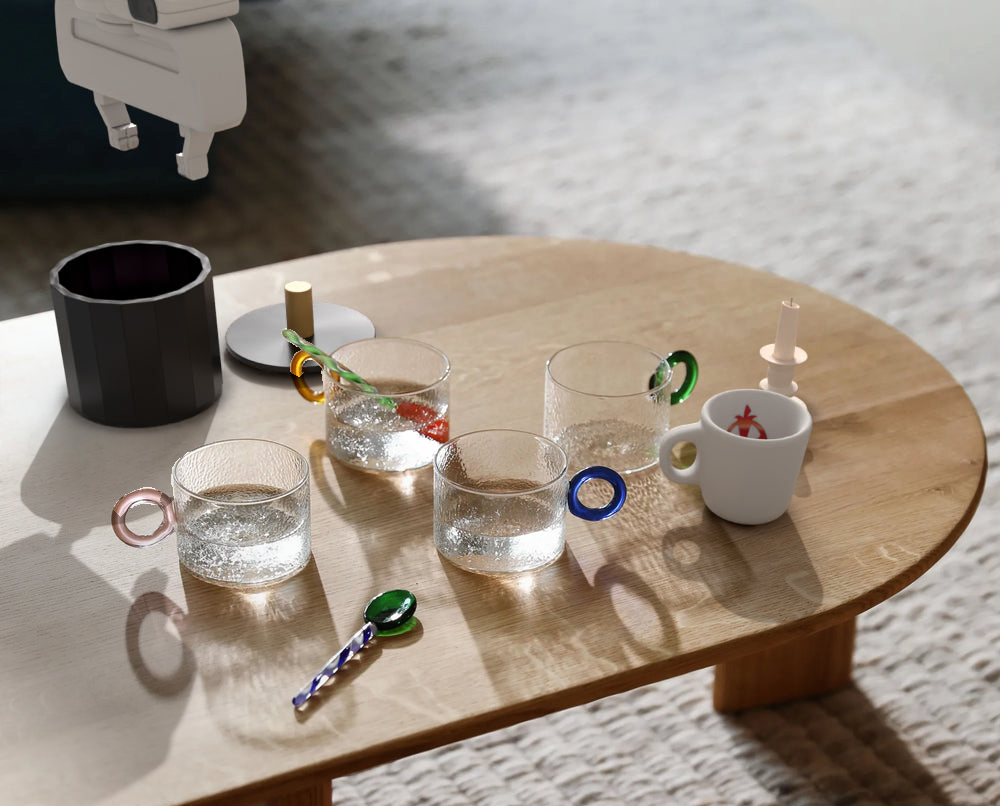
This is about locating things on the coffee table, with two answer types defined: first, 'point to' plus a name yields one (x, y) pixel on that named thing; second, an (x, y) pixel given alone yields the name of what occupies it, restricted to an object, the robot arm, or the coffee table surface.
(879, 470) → the coffee table surface
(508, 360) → the coffee table surface
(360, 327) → the lid
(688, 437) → the cup
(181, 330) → the pot
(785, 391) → the candlestick
